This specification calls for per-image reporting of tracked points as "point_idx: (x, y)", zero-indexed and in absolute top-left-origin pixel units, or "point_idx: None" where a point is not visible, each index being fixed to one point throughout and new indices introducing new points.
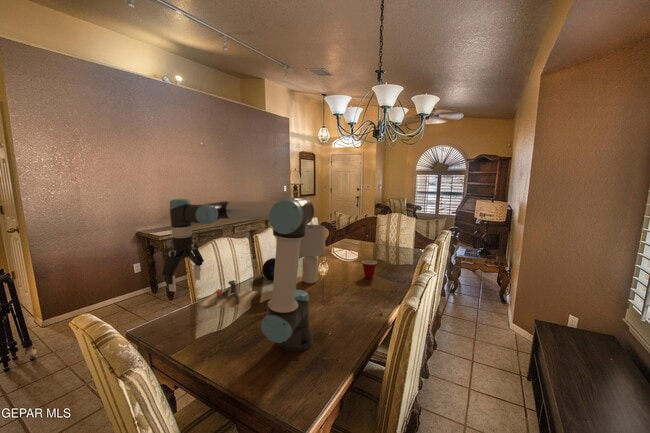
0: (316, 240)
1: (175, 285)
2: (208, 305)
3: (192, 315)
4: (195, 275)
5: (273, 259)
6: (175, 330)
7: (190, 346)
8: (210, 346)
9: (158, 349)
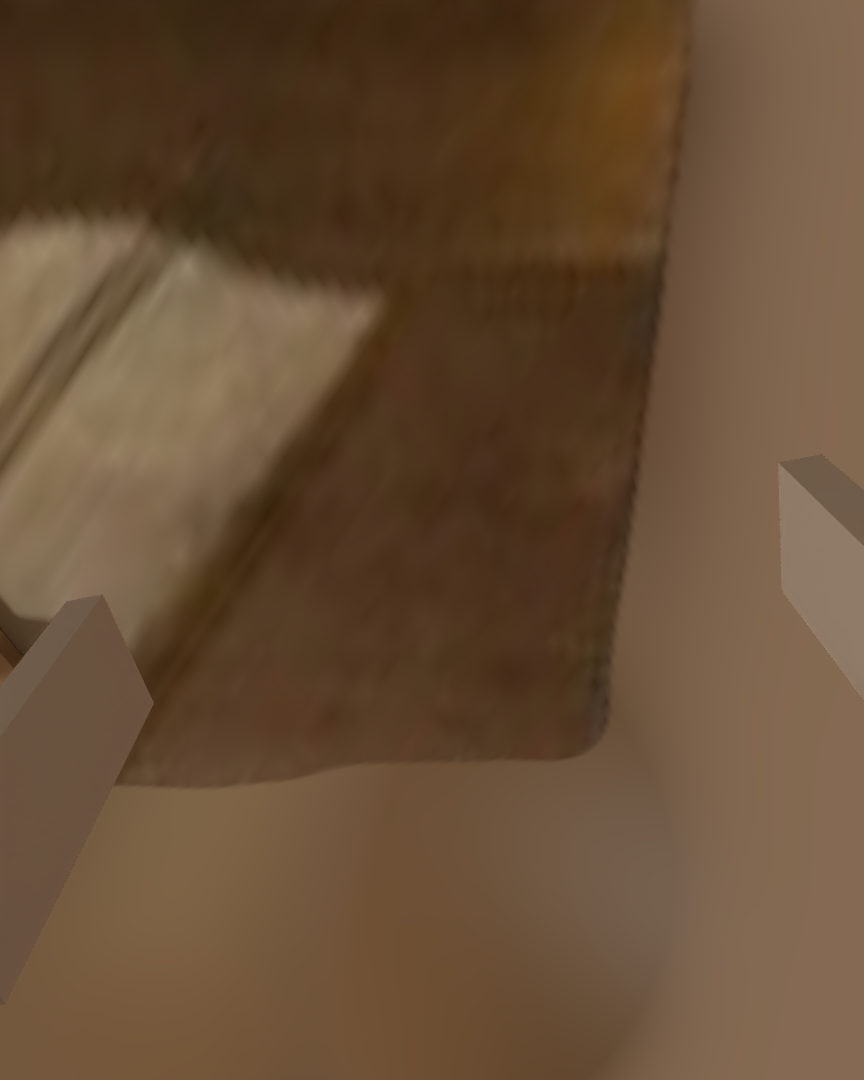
0: None
1: (842, 519)
2: (8, 670)
3: (185, 653)
4: (106, 734)
5: None
6: (403, 563)
7: (486, 232)
8: (387, 48)
9: (640, 430)
